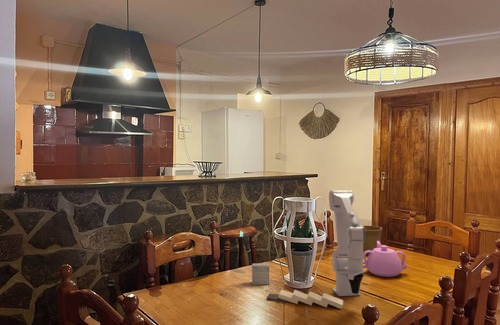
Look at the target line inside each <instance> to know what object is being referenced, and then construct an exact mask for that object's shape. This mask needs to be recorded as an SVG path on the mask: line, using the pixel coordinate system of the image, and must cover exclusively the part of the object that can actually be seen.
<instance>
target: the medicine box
mask: <svg viewBox="0 0 500 325" xmlns="http://www.w3.org/2000/svg"><path fill="white" fill-rule="evenodd" d="M251 283H252V286H254V285H255V286H257V285H261V286H262V285H263V286H264V285H270V264H269V263H266V262H265V263H264V262H262V263H260V262H259V263H252V264H251Z"/></svg>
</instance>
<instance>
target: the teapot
mask: <svg viewBox="0 0 500 325" xmlns="http://www.w3.org/2000/svg"><path fill="white" fill-rule="evenodd" d="M388 247H389V246H387V245H385V244H384V245H383V244H381V240H380V241H377V248H375V249H373V250H372V251H370V250H367V251H365V252H364V253H363V269H367V271H369V273H370V274H372V275H375V276H378V277H389V278H390V277H391V278H392V277H397V276H399V275H400V274H401V273H402V272H403V270H407V269H408V266H407V264H406V263H405V260H406V254H405V253H404V252H403V251H401V250H396V251H395V250H394V249H392V248H388ZM366 253H370V255H369V256H368V255H366ZM398 254H401V255H402V259H400V257H399V255H398ZM366 256H367V258H366Z"/></svg>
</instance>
